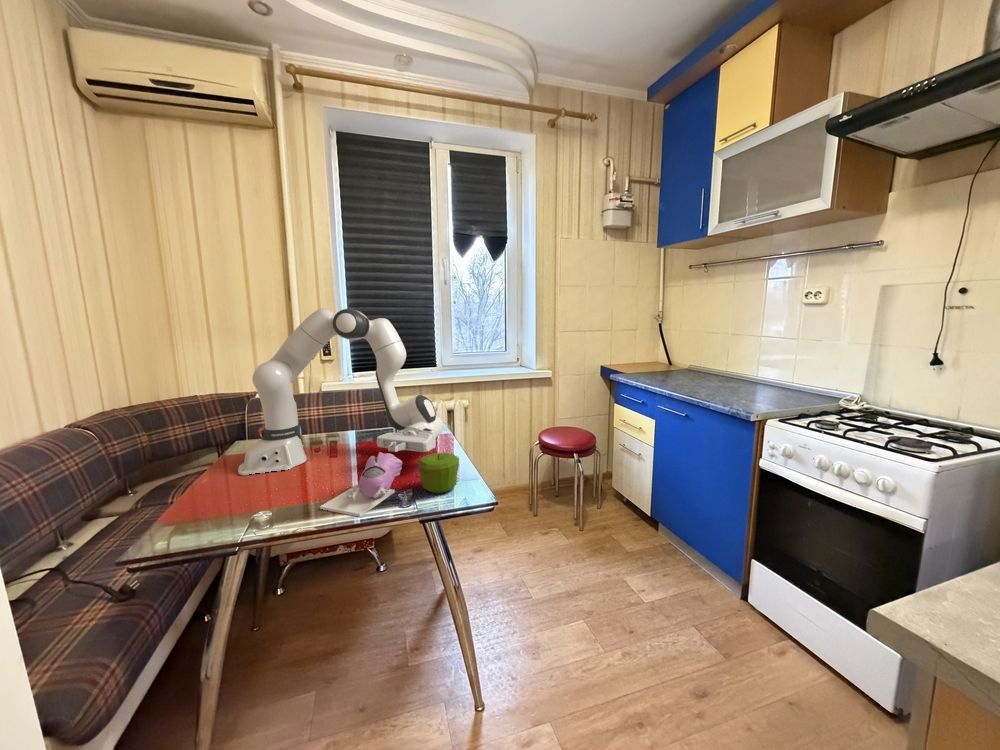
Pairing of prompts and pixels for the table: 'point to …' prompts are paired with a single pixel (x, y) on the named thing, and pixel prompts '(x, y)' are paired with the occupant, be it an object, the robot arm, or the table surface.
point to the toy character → (377, 476)
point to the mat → (354, 503)
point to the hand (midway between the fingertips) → (391, 449)
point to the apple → (438, 472)
